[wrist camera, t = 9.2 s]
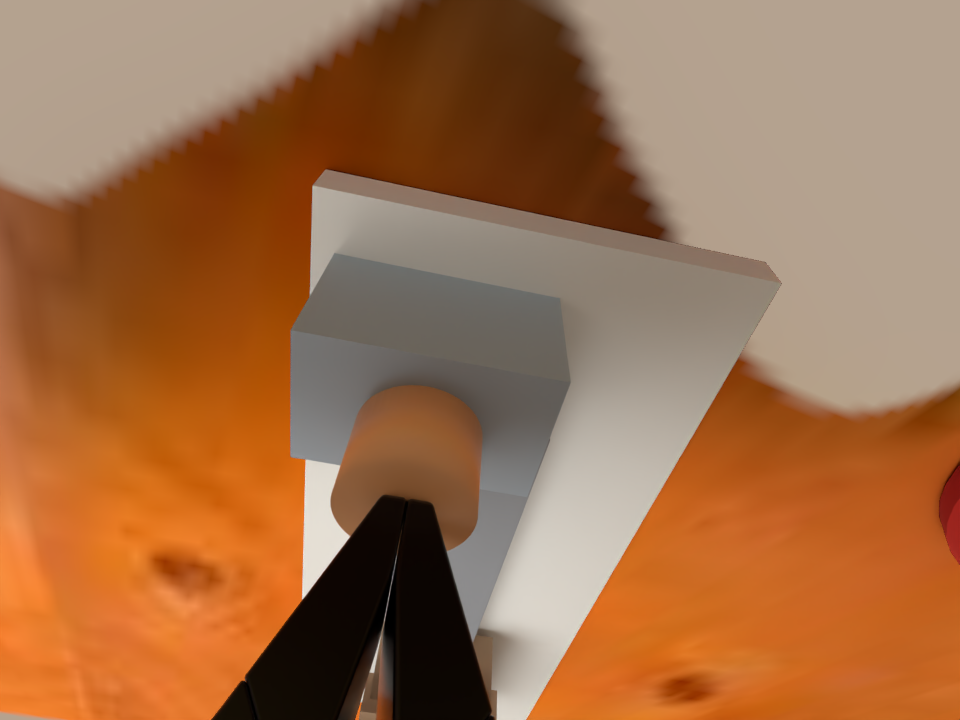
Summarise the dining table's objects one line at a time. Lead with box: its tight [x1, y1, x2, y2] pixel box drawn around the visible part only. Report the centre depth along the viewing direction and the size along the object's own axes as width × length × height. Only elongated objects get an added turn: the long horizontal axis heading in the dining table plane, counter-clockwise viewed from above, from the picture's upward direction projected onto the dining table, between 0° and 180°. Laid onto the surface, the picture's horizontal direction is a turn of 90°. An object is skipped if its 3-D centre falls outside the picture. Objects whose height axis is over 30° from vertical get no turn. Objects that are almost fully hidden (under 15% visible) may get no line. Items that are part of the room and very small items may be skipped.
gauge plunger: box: [330, 385, 483, 552], centre depth 10 cm, size 2×2×2 cm
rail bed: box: [291, 169, 782, 720], centre depth 18 cm, size 23×10×4 cm, turn 169°
